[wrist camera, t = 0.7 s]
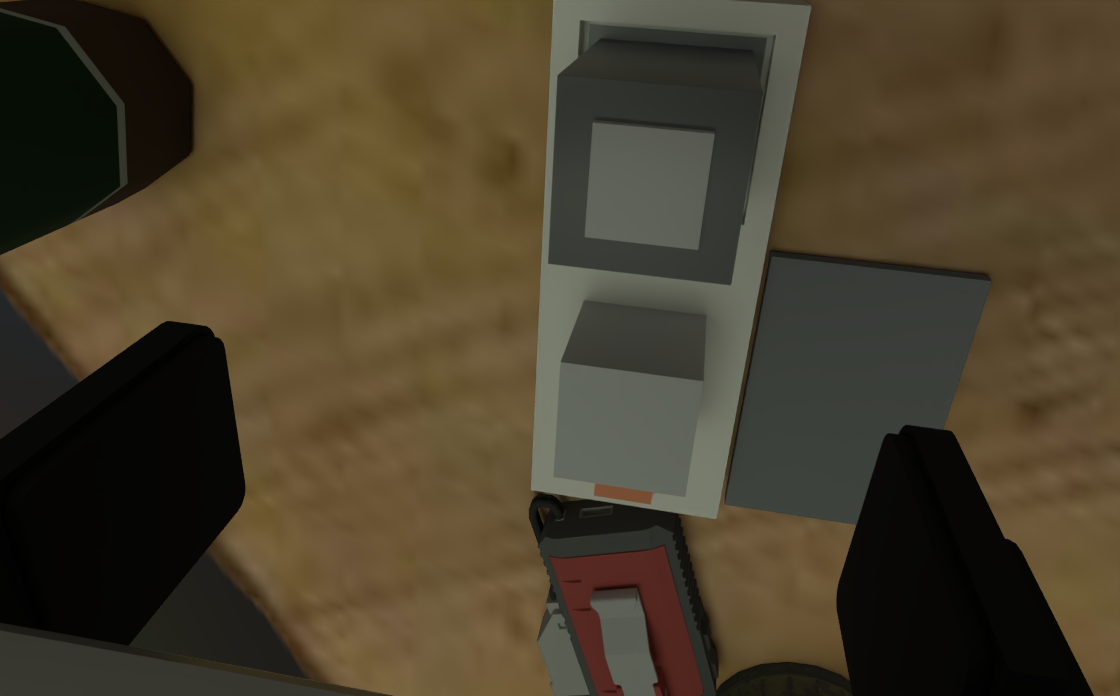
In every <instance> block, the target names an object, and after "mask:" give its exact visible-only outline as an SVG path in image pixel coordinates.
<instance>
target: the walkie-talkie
mask: <svg viewBox="0 0 1120 696" xmlns="http://www.w3.org/2000/svg"><path fill="white" fill-rule="evenodd" d="M540 507H547V508H549V509H551V510H550V511H549V513H548V514H547V516H546V519H545V523H544V526H543V523H542V520H541V517H540V514H539V511H538V508H540ZM529 519H530V522H531V525H532V528H533V531H534V533H535V536H536V539H537V542H538V548H539V549H540V551H541V553H540V555H541V557H543V559H544V563H543V564H544V566H546V568H547V574H548V575H549V576H550V583H551V586H550V590H549V594H548V598H547V602H546V605H547V608H548V609H547V610H546V612H545V614H544V617H543V619H542V623H541V627H540V631H539V635H538V639H537V643H538V646H539V649H540V652H541V654H542V657H543V660H544V662H545V665H546V668H547V670H548V673H549V676H550V678H551V684H550V686H551V689H552V691H553V694H554V695H555V696H715V695H716V678H718V659H717V655H716V651H715V650H714V648H713V644H712V640H711V632H710V628H709V624H708V620H706V617H705V613H704V609H703V605H702V601H701V597H700V596H698V594H699V590H698V588H697V587H696V579H694V571H692V562H690V555H689V554H688V553H687V552H688V547H687V545H685V536H683V527H681V519H680V518H678V513H674V512H667V511H661V510H655V509H648V508H642V507H636V506H629V505H623V504H617V503H610V502H604V501H597V500H591V499H589V500H580V501H571V502H562V503H561V502H560V501H559V499H558V498H556V497H555V496H553V495H548V494H540V495H537V496H535V498H534V499H533V500H532V502H531V505H530V508H529ZM691 613H692V614H691Z"/></svg>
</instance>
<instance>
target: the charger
mask: <svg viewBox="0 0 1120 696" xmlns="http://www.w3.org/2000/svg"><path fill="white" fill-rule="evenodd" d="M762 97H763V90H762V86H761V82H760V78H759V74H758V70H757V66H756V62H755V58H754V54H753V50H743V49H730V48H717V47H705V46H692V45H680V44H667V43H654V42H642V41H629V40H617V39H604V38H600V39H599V40H598V41H597V42H596V43H595V44H593V45H592V46H591V47H590V48H589V49H588V50H586V51H585V52H584V53H583V54H582V55H581V56H579V57H578V58H577V59H576V60H575V61H574V62H572V63H571V64H570V65H569V66H568V67H566V68H565V69H564V70H563V71H562V72H561V73H559V74H558V75H557V94H556V114H555V134H554V154H553V174H552V194H551V214H550V234H549V254H548V264H554V265H562V266H571V267H579V268H588V269H596V270H605V271H613V272H622V273H630V274H639V275H647V276H655V277H664V278H672V279H681V280H689V281H698V282H706V283H715V284H723V285H731V283H732V277H733V271H734V265H735V259H736V253H737V247H738V241H739V235H740V229H741V223H742V217H743V211H744V205H745V199H746V193H747V187H748V181H749V175H750V169H751V163H752V157H753V151H754V145H755V139H756V133H757V127H758V121H759V115H760V109H761V103H762Z"/></svg>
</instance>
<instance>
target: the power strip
mask: <svg viewBox="0 0 1120 696" xmlns="http://www.w3.org/2000/svg"><path fill="white" fill-rule="evenodd" d="M810 11H811V5H810V4H808V3H807V2H806V1H805V0H553V20H552V42H551V64H550V86H549V108H548V129H547V151H546V173H545V195H544V217H543V239H542V261H541V283H540V304H539V326H538V348H537V370H536V392H535V414H534V436H533V458H532V479H531V490H534V491H540V492H547V493H553V494H559V495H566V496H572V497H578V498H585V499H591V500H597V501H604V502H610V503H617V504H623V505H629V506H636V507H642V508H648V509H655V510H661V511H667V512H674V513H680V514H687V515H693V516H699V517H706V518H712V519H717V514H718V508H719V503H720V498H721V492H722V487H723V481H724V476H725V471H726V465H727V460H728V454H729V449H730V444H731V438H732V433H733V427H734V422H735V417H736V411H737V406H738V400H739V395H740V390H741V384H742V379H743V373H744V368H745V363H746V357H747V352H748V346H749V341H750V336H751V330H752V325H753V319H754V314H755V309H756V303H757V298H758V292H759V287H760V282H761V276H762V271H763V265H764V260H765V255H766V249H767V244H768V238H769V233H770V228H771V222H772V217H773V211H774V206H775V201H776V195H777V190H778V184H779V179H780V173H781V168H782V163H783V157H784V152H785V146H786V141H787V136H788V130H789V125H790V119H791V114H792V109H793V103H794V98H795V92H796V87H797V82H798V76H799V71H800V65H801V60H802V55H803V49H804V44H805V38H806V33H807V28H808V22H809V17H810ZM600 38H604V39H617V40H629V41H642V42H654V43H667V44H680V45H692V46H705V47H717V48H730V49H743V50H753V54H754V58H755V62H756V66H757V70H758V74H759V78H760V82H761V86H762V90H763V97H762V103H761V109H760V115H759V121H758V127H757V133H756V139H755V145H754V151H753V157H752V163H751V169H750V175H749V181H748V187H747V193H746V199H745V205H744V211H743V217H742V223H741V229H740V235H739V241H738V247H737V253H736V259H735V265H734V271H733V277H732V283H731V285H723V284H715V283H706V282H698V281H689V280H681V279H672V278H664V277H655V276H647V275H639V274H630V273H622V272H613V271H605V270H596V269H588V268H579V267H571V266H562V265H554V264H548V254H549V234H550V214H551V194H552V174H553V154H554V134H555V114H556V94H557V75H558V74H559V73H561V72H562V71H563V70H564V69H565V68H566V67H568V66H569V65H570V64H571V63H572V62H574V61H575V60H576V59H577V58H578V57H579V56H581V55H582V54H583V53H584V52H585V51H586V50H588V49H589V48H590V47H591V46H592V45H593V44H595V43H596V42H597V41H598V40H599V39H600Z"/></svg>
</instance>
